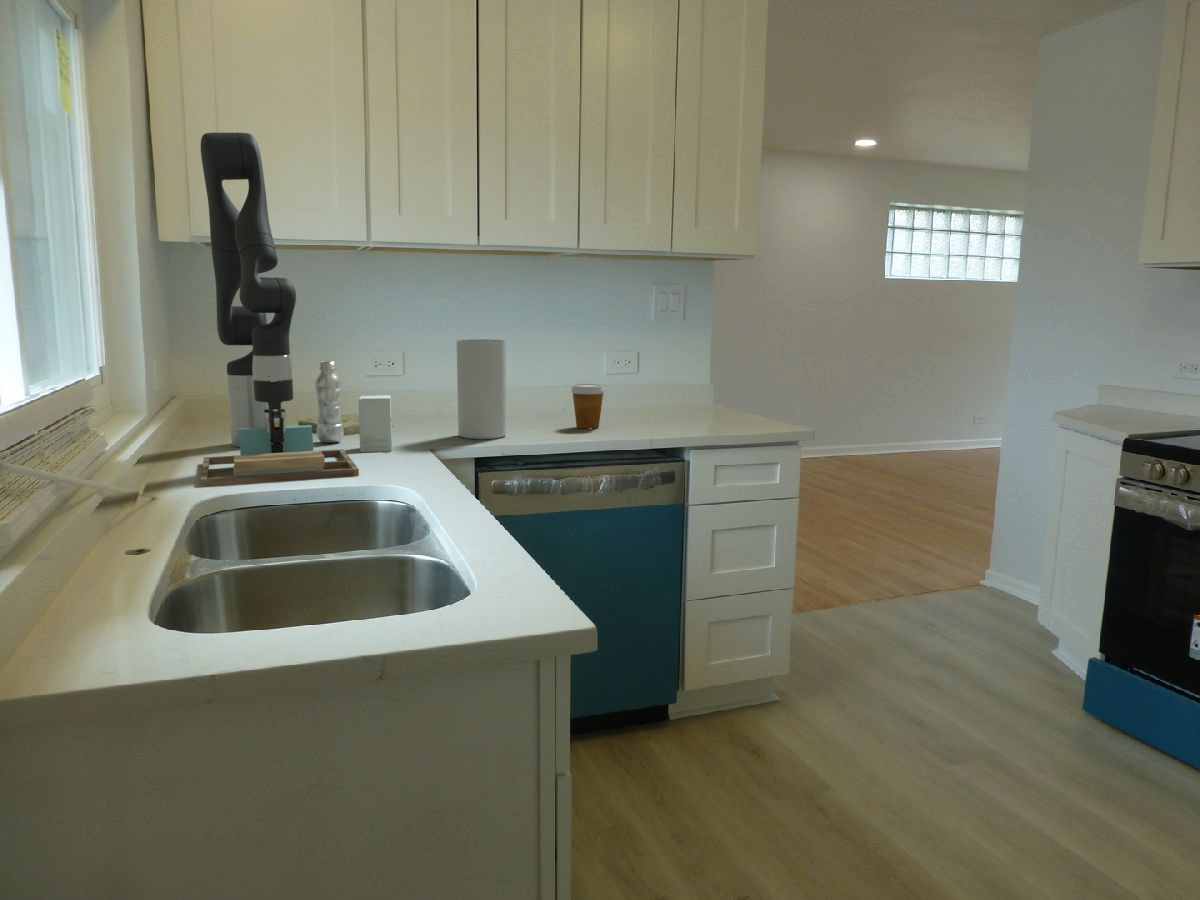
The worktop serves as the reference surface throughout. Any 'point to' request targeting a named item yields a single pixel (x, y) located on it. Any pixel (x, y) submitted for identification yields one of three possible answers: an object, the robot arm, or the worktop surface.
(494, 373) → the cylinder vase
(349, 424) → the decorative tile
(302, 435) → the teal block
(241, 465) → the oak offcut top
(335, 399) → the plastic bottle
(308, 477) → the tray
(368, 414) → the supplement box
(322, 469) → the grey flat panel
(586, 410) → the disposable coffee cup
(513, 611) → the worktop surface
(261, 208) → the robot arm
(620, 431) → the worktop surface
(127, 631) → the worktop surface
